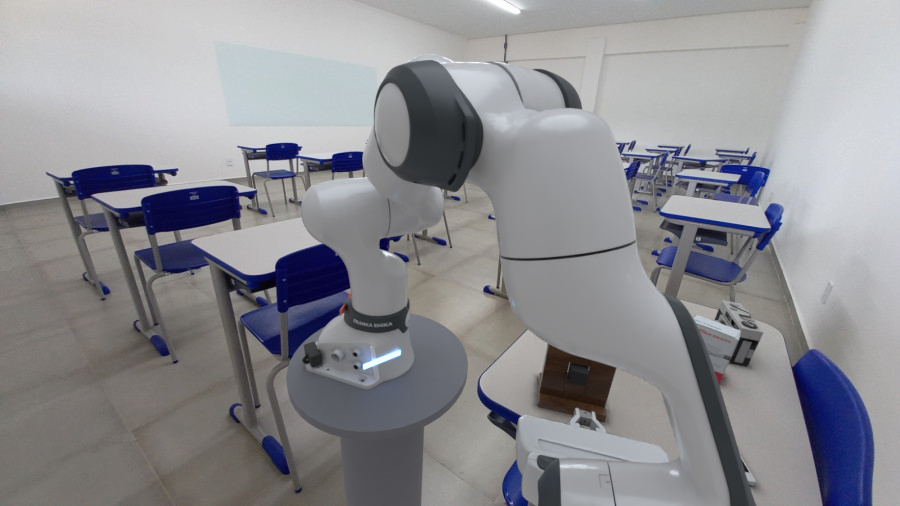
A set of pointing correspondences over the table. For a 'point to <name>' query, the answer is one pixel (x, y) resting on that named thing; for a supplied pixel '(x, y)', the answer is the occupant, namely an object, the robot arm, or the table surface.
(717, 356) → the ink box
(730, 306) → the grey black box
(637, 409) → the table surface
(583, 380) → the near switch
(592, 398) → the near plate
